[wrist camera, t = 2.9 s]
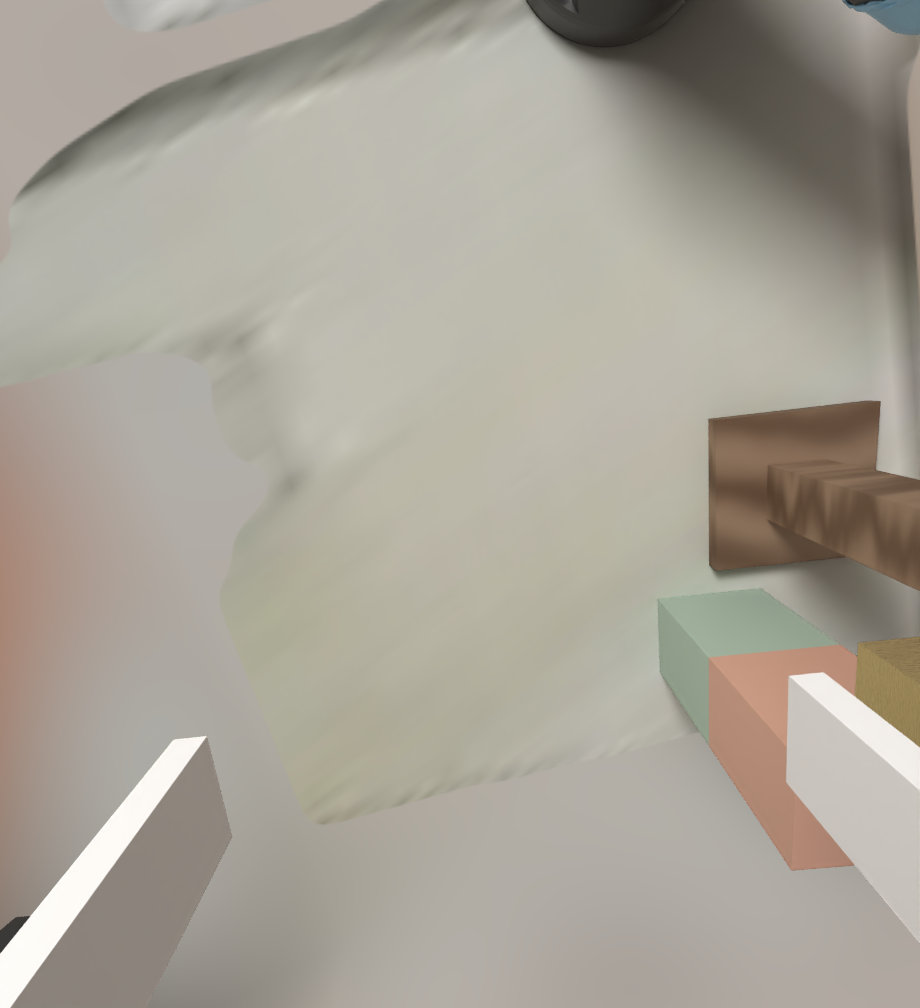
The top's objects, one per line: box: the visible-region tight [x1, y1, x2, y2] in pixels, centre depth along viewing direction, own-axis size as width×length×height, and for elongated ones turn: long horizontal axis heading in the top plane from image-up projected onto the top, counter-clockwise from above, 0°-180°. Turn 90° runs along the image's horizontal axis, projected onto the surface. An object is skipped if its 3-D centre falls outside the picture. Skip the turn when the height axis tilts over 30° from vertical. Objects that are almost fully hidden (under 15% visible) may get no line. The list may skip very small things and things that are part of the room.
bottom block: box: [658, 588, 840, 745], centre depth 47 cm, size 8×10×11 cm
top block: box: [709, 645, 857, 870], centre depth 36 cm, size 8×10×11 cm
